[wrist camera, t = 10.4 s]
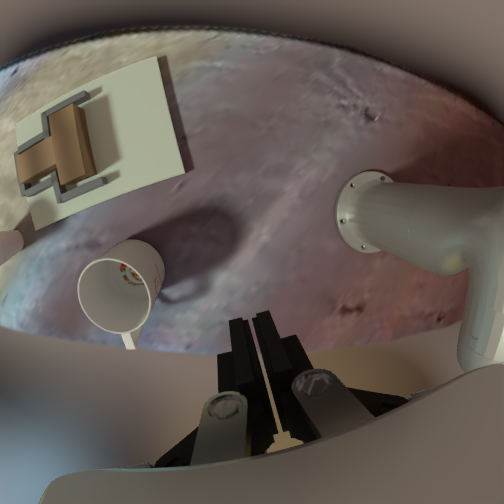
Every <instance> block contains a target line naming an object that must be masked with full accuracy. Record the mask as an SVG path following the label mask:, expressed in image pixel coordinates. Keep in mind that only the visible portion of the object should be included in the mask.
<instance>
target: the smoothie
mask: <svg viewBox="0 0 504 504" xmlns="http://www.w3.org/2000/svg"><path fill="white" fill-rule="evenodd" d="M23 245H24V240H23V236H22V234H21V233H20V232H19V231H18V230H9V231H0V266H1V265H2V264H4V263H5V262H6V261H7V260H9V259H10V258H12V257H13V256H14V255H16V254H17V253H18V252H20V251H21V250H22V248H23Z"/></svg>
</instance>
